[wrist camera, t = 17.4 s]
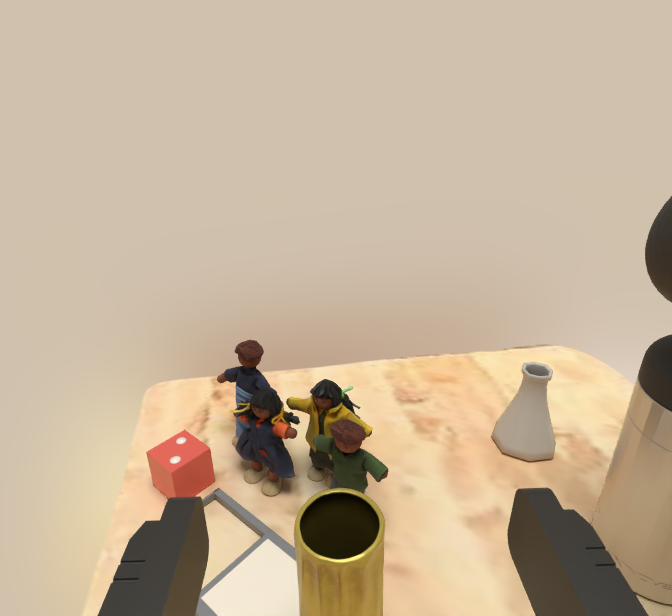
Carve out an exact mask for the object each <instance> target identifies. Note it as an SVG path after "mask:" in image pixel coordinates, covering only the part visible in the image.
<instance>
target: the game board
mask: <svg viewBox="0 0 672 616" xmlns="http://www.w3.org/2000/svg"><path fill="white" fill-rule="evenodd" d="M214 499H216V500H217V501H218V502H220V503H221V504H222V505H223V506H224V507H226V508H227V509H228V510H229V511H231V512H232V513H233V514H234V515H235V516H237V517H238V518H239V519H240V520H242V521H243V522H244V523H245V524H246V525H248V526H249V527H250V528H251V529H252V530H254V531H255V532H256V533H257V534H259V535H260V536H261V538H260V539H259V540H258V541H257V542H256V543H254V544H253V545H252V546H251V547H250V548H249V549H248V550H246V551H245V552H244V553H243V554H242V555H241V556H240V557H238V558H237V559H236V560H235V561H234V562H233V563H232V564H230V565H229V566H228V567H227V568H226V569H225V570H224V571H222V572H221V573H220V574H219V575H218V576H217V577H216V578H214V579H213V580H212V581H211V582H210V583H209V584H208V585H206V586H205V587H204V588H203V589H202V590H201V592H200V596H199V601H198V605H197V609H196V613H195V616H300V615H299V590H298V578H297V564H296V552H295V548H294V547H292V546H291V545H290V544H289V543H287V542H286V541H285V540H284V539H282V538H281V537H280V536H279V535H277V534H276V533H275V532H274V531H272V530H271V529H270V528H268V527H267V526H266V525H265V524H263V523H262V522H261V521H260V520H258V519H257V518H256V517H255V516H253V515H252V514H251V513H250V512H248V511H247V510H246V509H245V508H243V507H242V506H241V505H240V504H238V503H237V502H236V501H234V500H233V499H232V498H231V497H229V496H228V495H227V494H226V493H224V492H223V491H222V490H221V489H219V488H218V489H216V490H215V491H214V492H212V493H211V494H209V495H208V496H207V497H205V498H204V499H203V500H202V502H203V507H205V506H206V505H207V504H209V503H210V502H211V501H213V500H214Z"/></svg>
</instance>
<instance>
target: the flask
mask: <svg viewBox="0 0 672 616" xmlns="http://www.w3.org/2000/svg"><path fill="white" fill-rule="evenodd" d="M522 373H523V380H522V384H521V386H520V388H519V391H518V392H517V394H516V395H515V397H514V398H513V400H512V401H511V403H510V404H509V406H508V407H507V409H506V410H505V411H504V413H503V414H502V415H501V417H500V418H499V419H498V421H497V422H496V425H495V427H494V430H493V433H492V436H491V437H492V438H493V440H494V441H495V442H496V444H497V445H498V447H499V448H500V450H501V451H502V453H505V454H508V455H511V456H514V457H517V458H520V459H524V460H527V461H536V460H544V459H552V458H553V455H554V450H555V444H556V443H555V437H554V433H553V429H552V424H551V420H550V415H549V409H548V404H547V383H548V381H550V380H551V377H552V373H553V371H552V370H551V369H550V368H549V367H548V366H547V365H545V364H540V363H536V362H530V363H524V364H523V367H522Z"/></svg>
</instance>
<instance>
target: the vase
mask: <svg viewBox="0 0 672 616" xmlns="http://www.w3.org/2000/svg"><path fill="white" fill-rule="evenodd" d="M384 532H385V520H384V516H383V514H382V512H381V510H380V509H379V507H378V506H377V504H376V503H375V502H374V501H373V500H371V499H370V498H369V497H368V496H366V495H364V494H363V493H361V492H359V491H356V490H353V489H348V488H335V489H329V490H324V491H322V492H319V493H317V494H316V495H314V496H312V497H311V498H310V499H309V500H308V501H307V502H306V503H305V504H304V505H303V506H302V507H301V509H300V511H299V513H298V515H297V518H296V521H295V527H294V540H295V552H296V564H297V578H298V590H299V615H300V616H383V564H384Z"/></svg>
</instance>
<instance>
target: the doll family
mask: <svg viewBox="0 0 672 616" xmlns="http://www.w3.org/2000/svg"><path fill="white" fill-rule="evenodd" d="M263 352H264V351H263V348H262V346H260V344H259V343H258V342H257V341H254V340H247V341H245V342H241V343H240V344H238V345H237V347H236V350H235V353H237V354H238V359H239V362H240V363H241V364H242V365H243V366H240V367H235V368H231V369H227V370H226V371H225V372H224V373H223V374H221V375H219V376H218V377H217V381H218V382H219V383H223V382H225V381H229V382H230V383H232V382H236V404H237V408H236V409H235V410H230V412H231V411H232V412H234V415H235V416H236V426H237V428H236V436H235V437H234V438H233V440H232V444H233V445H234V446H236V450H237V452H238V453H239V455H240V456H241V457H242V458H243V459H245V460H250V461H252V468H250V469H248V470H247V471H246V472H245V474H244V480H245V481H246V482H248V483H256V482H258V481H259V480H261V479H262V478H263V477H264V476H265V475H266V473H267V472H268V469H267V468H266V466H267V467H268V468H269V479H268V480H267V481H266V482H265V483H264V484H263V486H262V492H263V493H264V494H266V495H270V496H273V495H276V494H278V493H279V492H280V489H281V485H282V479H281V478H292V477H294V476H295V474H294V469H293V462H292V460H291V457H290V455H289V453H288V451H287V449H286V448H285V446H284V443H283V440H282V438H284V439H287V438H291V439H293V438H295V437H296V436H297V431H296V429H294V428H292V427H291V424H290V422H292V423H294V424H298V423H300V421H299V418H298V417H297V416H293V413H292V412H289V413H288V412H285V411H284V407H283V406H284V405H283V402H282V401H281V400H280V398H279V396H278V395H277V392H276V391H275V390H274V389H273V388H271V387H270V385H269V383H268V382H267V380H266V379H265V377H264V376H263V375H262V374H261V372H260V371H259V370H257V369H256V366H257V365H258V364H259V362H260V361H261V356H262V355H263ZM351 389H353V386H349V387H348V388H347V389H344V390H341V388H340V387H339V386H338V385H337V384H336V383H334V382H333V381H330V380H327V379H324V380H322V381H320V382H319V383H317V384H316V385H315V387H314V388H313V389H312V390H311V391H310V393H311V394H312V395H311V396H310V397H309V398H307V399H301V398H294V397H290V398H288V399H287V401H286V402H287V405H288V407H289V408H290V409H292V410H298V411H302V412H305V413H308V414H309V415H310V422H309V426H308V430H307V433H306V440H307V442H308V443H309V445H310V446H311V448H310V454H309V456H310V457H311V461H312V463H313V465H314V466H313V467H312V468H311V469H310V470H309V471H308V477H309V478H310V479H311V480H314V481H320V480H322V479H324V477H325V476H326V474H327V471H328V469H330V470H332V471H333V473H332V474H331V475H330V476H329V477H328V479H327V481H326V483H327V486H328V487H330V489H335V488H348V489H353V490H356V491H359V492H361V493H363V494H364V491H365V489H366V487H367V486H368V482H367V478H366V475H367V471H368V472H369V473H370V474H371V475H372V476H373V477H374V478H375V480H376V481H377V482H380V481H381V480H382V479H384V478H386V477H387V475H388V468H387V467H386V466H385V465H384V464H383V463H382V462H380V461H379V460H378V459H377V458H375V457H374V456H373V455H372V454H370V453H368V452H367V451H365V450H363V449H360V446H361V444H362V441H363V440H365V438H366V437H369V436H370V435H371V434H372V429H373V428H372V427H370V426H368V425H367V424H366V423H364V422H363V421H362V420H361V419H360V417H359V416H357V415H356V414H355V412H354V409H353V406H355V407H357V408H358V409H360V407H359V406H357V405H355V404H354V403H352V402H351V401H350V400H349V397H348V395H347V394H345V393H344V392H347V391H349V390H351ZM262 463H263V464H264V465H262Z"/></svg>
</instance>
